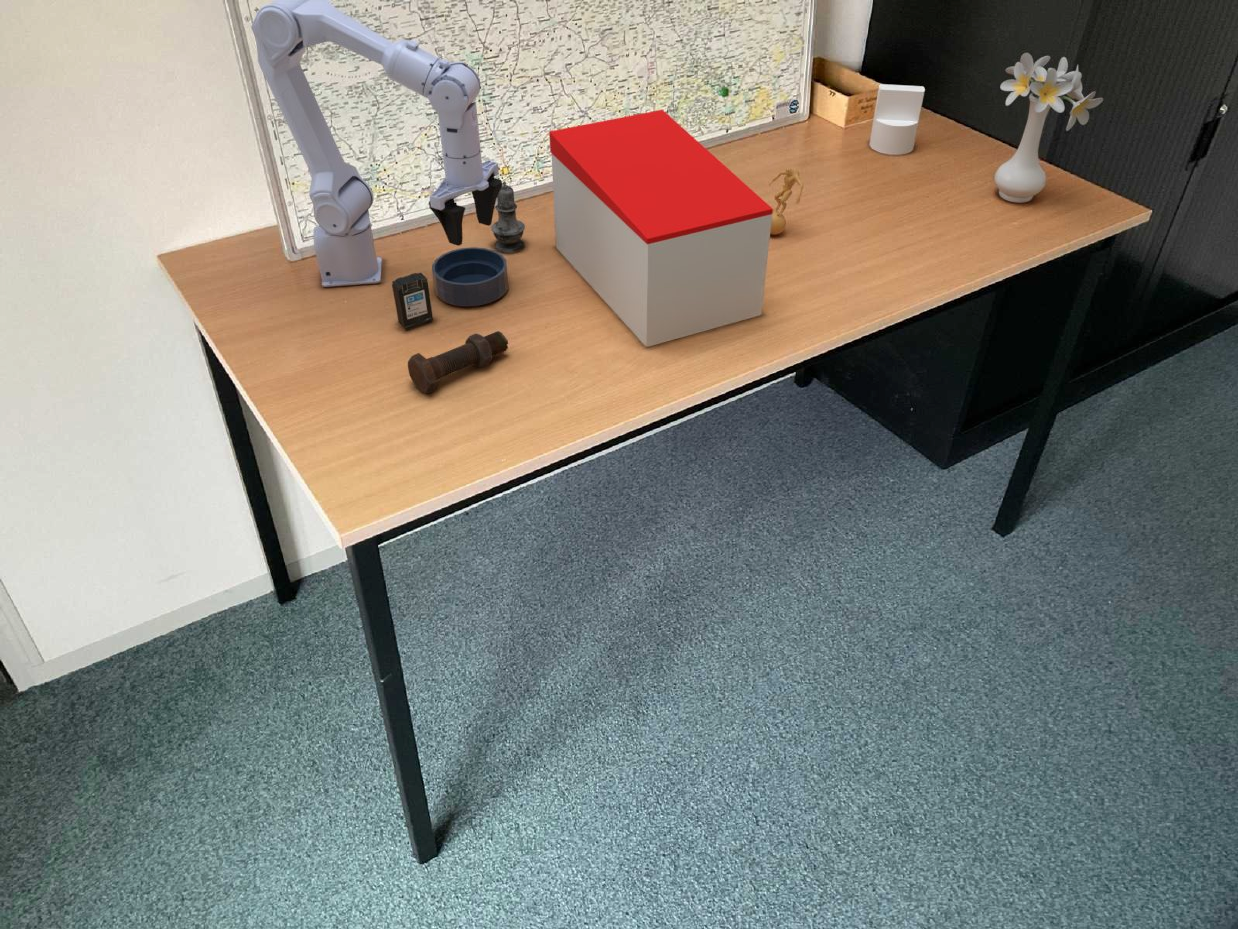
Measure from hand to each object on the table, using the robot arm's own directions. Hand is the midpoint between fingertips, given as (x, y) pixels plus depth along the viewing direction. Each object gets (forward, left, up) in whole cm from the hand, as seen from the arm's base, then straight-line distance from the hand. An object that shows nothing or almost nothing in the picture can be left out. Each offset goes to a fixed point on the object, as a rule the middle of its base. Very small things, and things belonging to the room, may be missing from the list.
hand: (470, 233), depth 159 cm
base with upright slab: (+87, +45, -10) cm, 99 cm away
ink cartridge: (-10, -9, -10) cm, 17 cm away
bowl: (-1, 0, -10) cm, 10 cm away
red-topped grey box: (+29, -1, -10) cm, 31 cm away
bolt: (-3, -23, -10) cm, 26 cm away
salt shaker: (+6, +14, -10) cm, 18 cm away
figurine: (+54, +12, -10) cm, 56 cm away
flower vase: (+103, +19, -10) cm, 105 cm away
